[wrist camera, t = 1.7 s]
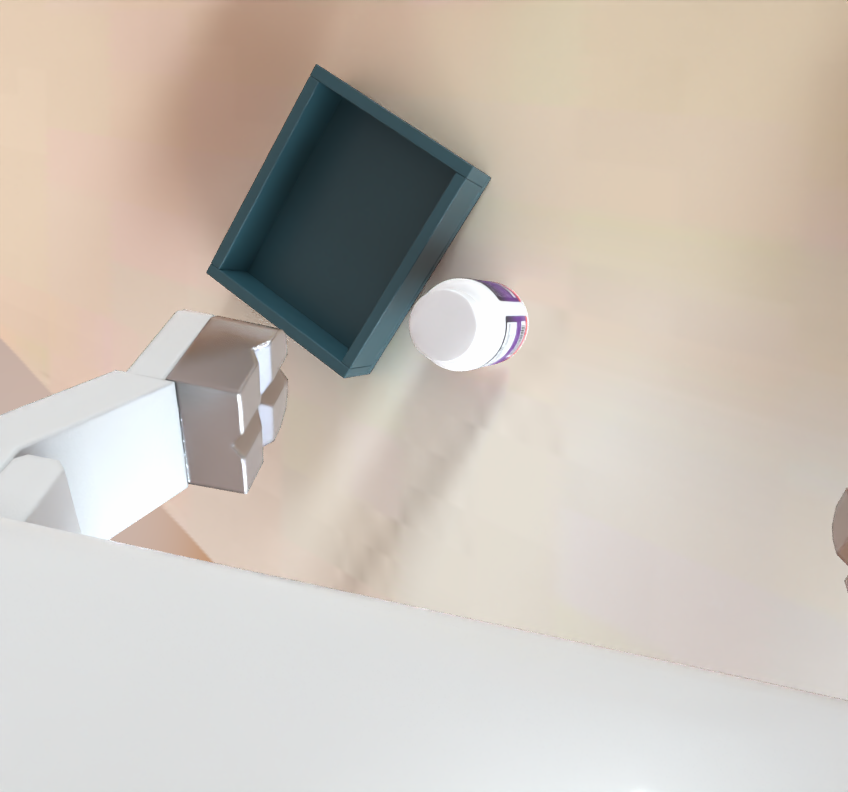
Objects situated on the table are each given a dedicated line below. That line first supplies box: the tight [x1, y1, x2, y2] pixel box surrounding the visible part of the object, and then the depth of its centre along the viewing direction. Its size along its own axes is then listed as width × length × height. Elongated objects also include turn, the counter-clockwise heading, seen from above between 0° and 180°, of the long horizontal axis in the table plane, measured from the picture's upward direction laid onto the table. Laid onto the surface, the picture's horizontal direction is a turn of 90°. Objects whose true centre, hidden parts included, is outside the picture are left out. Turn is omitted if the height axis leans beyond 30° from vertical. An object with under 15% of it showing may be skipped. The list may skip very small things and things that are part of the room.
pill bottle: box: [409, 278, 529, 371], centre depth 47 cm, size 5×5×10 cm
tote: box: [207, 64, 491, 378], centre depth 52 cm, size 16×13×4 cm
